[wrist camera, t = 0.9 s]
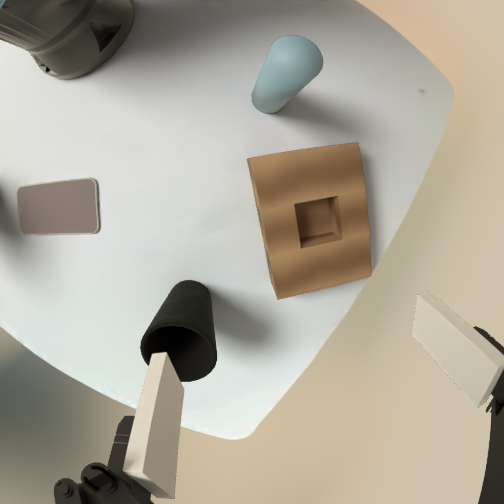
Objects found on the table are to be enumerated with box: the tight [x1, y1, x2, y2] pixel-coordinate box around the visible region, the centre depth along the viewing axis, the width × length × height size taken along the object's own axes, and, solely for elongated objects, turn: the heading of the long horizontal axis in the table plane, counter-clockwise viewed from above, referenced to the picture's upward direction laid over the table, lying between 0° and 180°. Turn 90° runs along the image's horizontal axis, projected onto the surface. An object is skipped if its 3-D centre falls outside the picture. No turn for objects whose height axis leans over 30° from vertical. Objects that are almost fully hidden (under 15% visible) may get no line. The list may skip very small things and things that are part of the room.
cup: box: [140, 280, 217, 382], centre depth 30 cm, size 8×8×12 cm
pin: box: [252, 35, 323, 113], centre depth 22 cm, size 4×4×14 cm
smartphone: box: [17, 178, 99, 235], centre depth 30 cm, size 7×1×15 cm
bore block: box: [247, 143, 371, 300], centre depth 32 cm, size 16×12×5 cm
